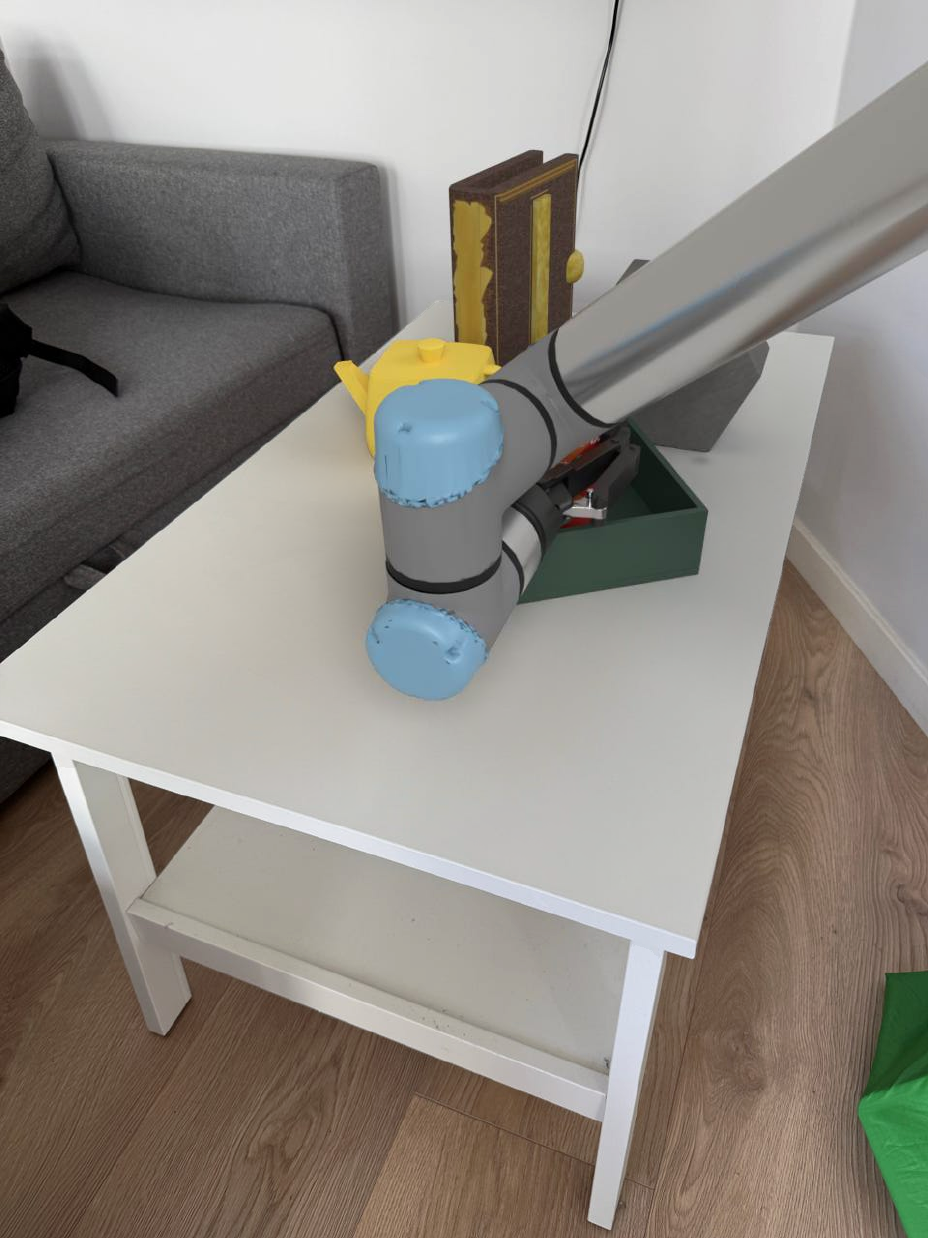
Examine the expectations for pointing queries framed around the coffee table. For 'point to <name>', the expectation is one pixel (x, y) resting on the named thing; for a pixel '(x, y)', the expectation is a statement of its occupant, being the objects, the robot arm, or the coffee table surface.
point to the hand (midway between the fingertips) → (583, 410)
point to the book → (514, 252)
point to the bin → (628, 535)
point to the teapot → (413, 371)
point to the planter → (701, 399)
